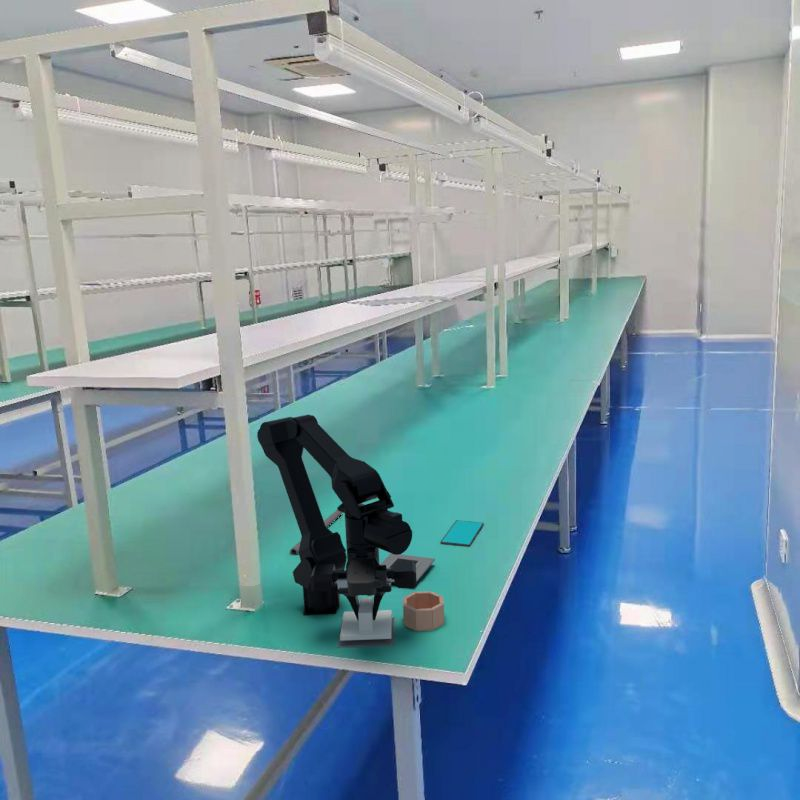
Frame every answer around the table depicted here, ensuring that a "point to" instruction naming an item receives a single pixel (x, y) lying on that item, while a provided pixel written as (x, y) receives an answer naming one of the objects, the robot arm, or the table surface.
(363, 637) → the lid
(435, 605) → the bowl
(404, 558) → the electrical outlet
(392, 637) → the mat
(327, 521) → the metal rod
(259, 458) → the table surface
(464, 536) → the smartphone
